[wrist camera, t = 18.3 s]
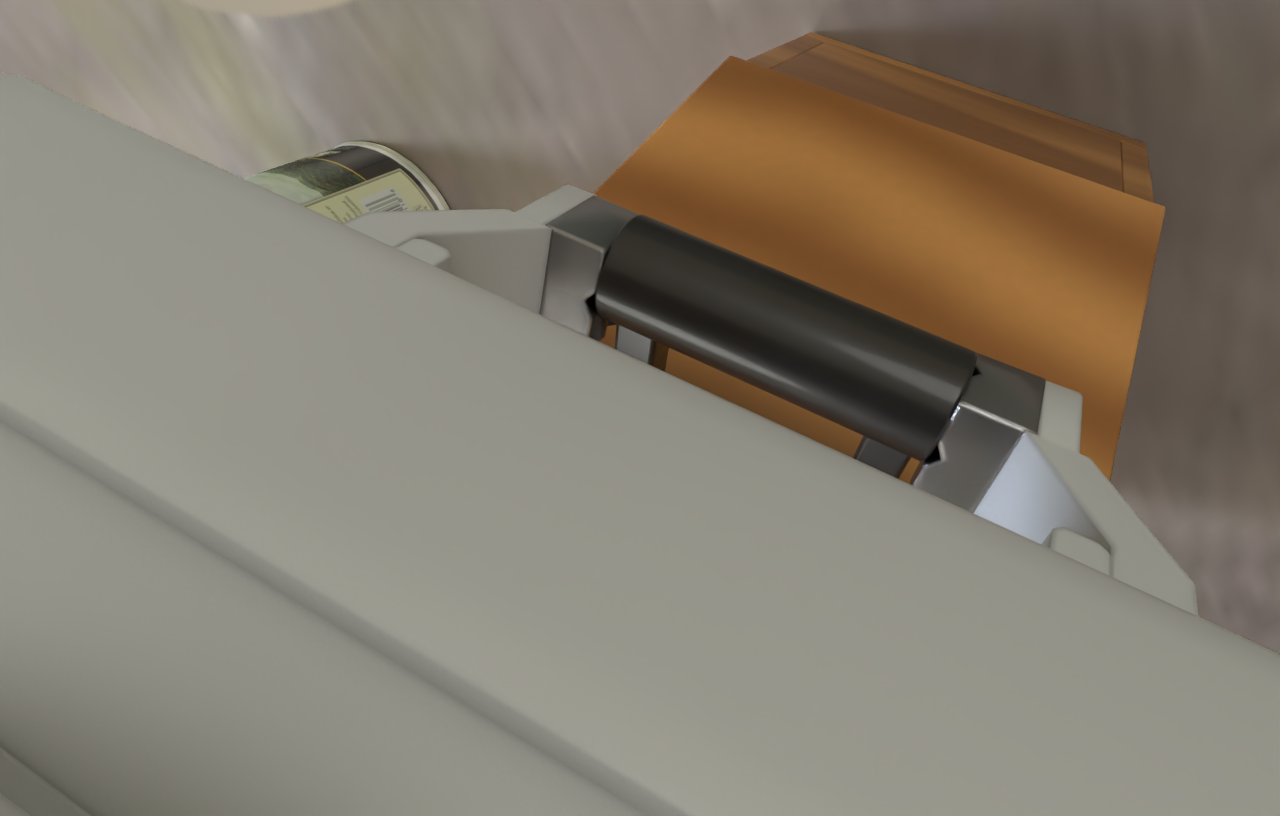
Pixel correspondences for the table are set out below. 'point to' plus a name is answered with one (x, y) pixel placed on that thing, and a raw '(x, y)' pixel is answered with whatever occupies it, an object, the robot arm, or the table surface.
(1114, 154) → the chest
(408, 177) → the coffee can
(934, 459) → the robot arm
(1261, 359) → the table surface
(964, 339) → the lid
